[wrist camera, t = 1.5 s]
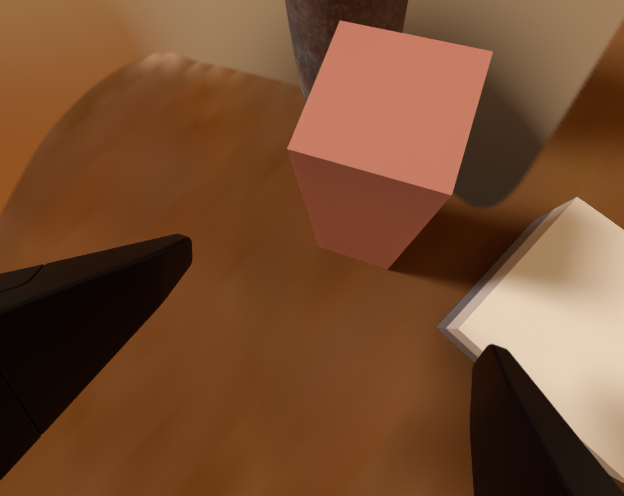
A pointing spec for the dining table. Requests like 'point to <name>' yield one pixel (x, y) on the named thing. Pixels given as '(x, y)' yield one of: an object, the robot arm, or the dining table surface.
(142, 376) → the dining table surface
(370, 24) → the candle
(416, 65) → the top brick
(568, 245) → the base block
